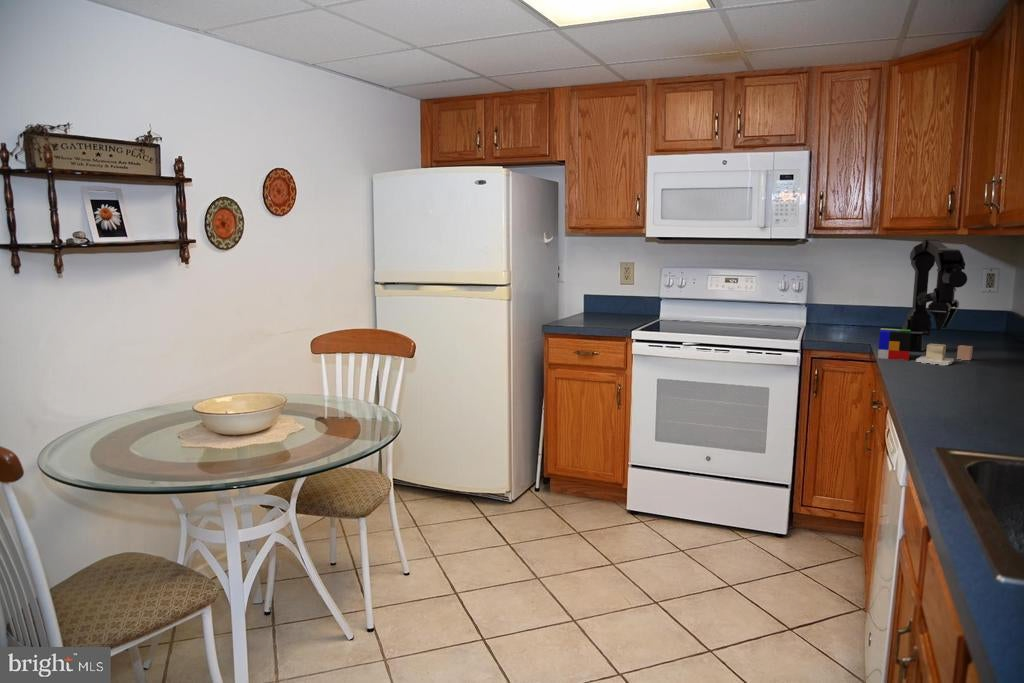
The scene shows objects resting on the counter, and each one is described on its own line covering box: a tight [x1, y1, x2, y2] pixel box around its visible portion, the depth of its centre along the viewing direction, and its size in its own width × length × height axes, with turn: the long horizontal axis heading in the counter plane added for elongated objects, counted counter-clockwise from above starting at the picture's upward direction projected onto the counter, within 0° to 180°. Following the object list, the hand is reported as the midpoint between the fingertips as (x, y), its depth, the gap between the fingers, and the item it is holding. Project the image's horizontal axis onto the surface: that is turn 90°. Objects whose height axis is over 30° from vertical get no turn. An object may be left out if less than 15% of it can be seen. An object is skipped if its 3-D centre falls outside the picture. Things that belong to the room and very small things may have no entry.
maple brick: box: [925, 343, 947, 361], centre depth 258 cm, size 5×5×5 cm
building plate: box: [915, 355, 955, 366], centre depth 259 cm, size 10×10×1 cm
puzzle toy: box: [877, 328, 912, 361], centre depth 269 cm, size 10×10×10 cm
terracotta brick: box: [956, 344, 974, 361], centre depth 264 cm, size 4×4×5 cm
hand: (941, 329), depth 258 cm, fingers open, 9 cm apart
